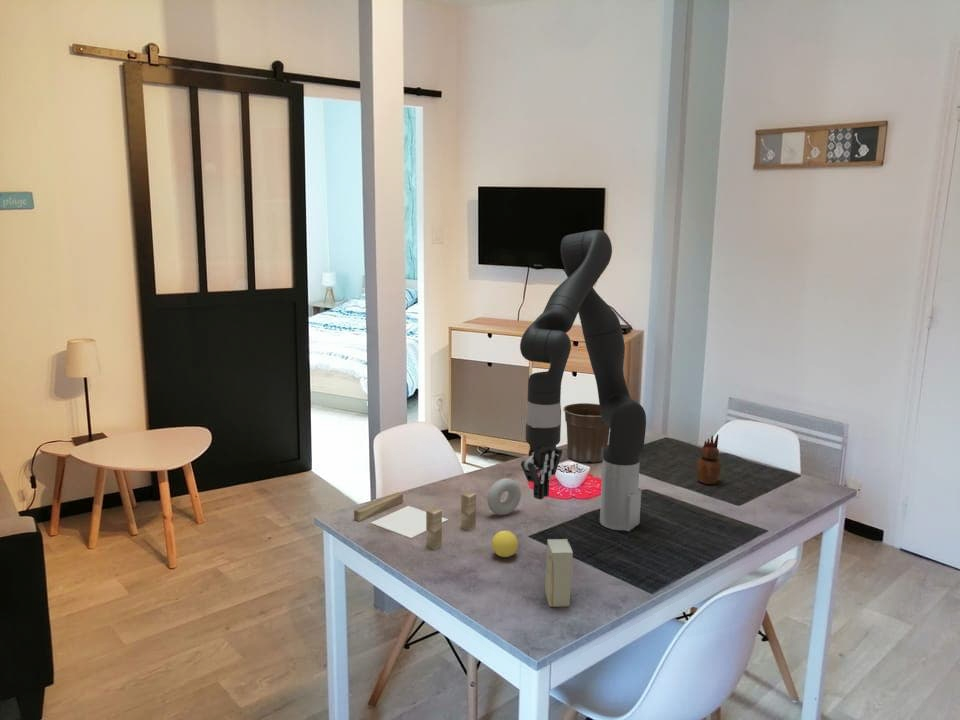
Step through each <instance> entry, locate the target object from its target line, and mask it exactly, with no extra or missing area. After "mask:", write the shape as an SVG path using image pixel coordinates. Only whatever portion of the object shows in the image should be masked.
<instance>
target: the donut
mask: <svg viewBox="0 0 960 720" xmlns="http://www.w3.org/2000/svg"><path fill="white" fill-rule="evenodd" d="M505 492H507V493H508V495H507V498H506V499H505V500H504V501H501V497H502V495H503V494H504V493H505ZM521 492H522V491H521V487H520V486H519V483H517V481H516V480H515V479H513V478H510V477H509V478H508V477H507V478H500V479H499V480H497V481H495V482H494V483H493V484H492V486H491V487H490V488H489V491H488V492H487V497H486V499H487V506H488V508H489V510H490V511H491V512H492V513H494V514H496V515H498V516H506V515H509V514H511V513H512V512H513V511H514V510H516V508H517V507H518V505H519V503H520V501H521V497H522V493H521Z"/></svg>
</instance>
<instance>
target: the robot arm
mask: <svg viewBox="0 0 960 720" xmlns="http://www.w3.org/2000/svg"><path fill="white" fill-rule="evenodd" d="M560 255H561V256H560V257H561V261H562V264H563V267H564V271H565V274H566V278H565V280H564V281H563V282H561V283H560V284H559V285H558V286H557V287H556V288H555V290H553V292H552V294H551V295H550V296H549V298H548V301H547V303H546V305H545V308H543V309H544V310H543V311H542V312H541V314H540V315H538V317H537V318H536V319H535V320H534V321H533V322H532V323H531V324H529V326H528V327H527V329H526V330H525V331H524V333H523V334H522V336H521V339H520V344H519V350H520V353H521V356H522V357H523V358H524V359H525V360H527V361H530V362H535V363H543V364H550V365H549V369H548V370H546V371H539V372H538V371H537V372H534V373H532V374H530V375H529V377H528V381H527V404H526V409H525V410H526V411H525V438H524V439H525V442H526V443H527V444H528V445H529V451H528V454H527V455H528V458H527V459H526V460H522V461H521V463H520V466H521V468H522V471H523V473H524V475H525V478H526V480H527V482H531V483H533V498H535V499H538V500H543V499H544V498H546V497H548V496H549V495H550V494H549V493H550V481H551V480H552V476H555V475H556V473H557V470H558V467H559V463H560V461H561V457H562V454H563V449H562V448H561V449H560V448H557V445H559V444H560V443H561V430H562V429H561V428H562V407H561V406H562V405H561V393H562V392H561V391H562V380H563V377H564V371H565V369H566V366H567V362H568V359H569V357H570V354H571V349H572V342H571V339H570V337H569V334H568V332H569V331H570V330H571V329H572V327H573V325H574V323H575V321H576V318H577V316H578V317H579V321H580V324H581V329H582V335H583V339H584V343H585V347H586V350H587V354H588V358H589V362H590V365H591V369H592V372H593V375H594V377H595V378H594V379H595V383H596V388H597V395H598V402H599V403H598V404H599V405H600V412H601V417H602V420H603V421H604V423H605V424H606V425H607V426H608V427H609V428H610V431H609V437H608V444H607V446H605V447H604V450H603V461H602V467H601V490H600V492H601V493H600V510H599V512H600V513H599V523H600V524H601V525H602V526H603V527H604V528H607V529H610V530H614V531H626V532H631V530H633V529H635V527H637V526H638V525H640V521H641V519H640V518H641V503H642V502H641V501H642V489H641V488H639V483H640V482H639V481H640V466H641V465H640V464H641V455H642V454H643V451H644V447H645V437H646V431H647V430H646V429H647V415H646V410H645V409H644V407H643V406H642V405H641V404H640V403H638V402H637V401H636V400H634V399H633V398H632V397H631V395H630V392H629V389H628V387H627V386H628V385H627V383H626V379H625V373H624V361H625V354H626V353H625V349H626V348H625V346H626V345H625V339H624V334H623V330H622V326H621V323H620V321H621V320H620V318H619V317H618V315H617V314H616V312H615V311H614V310H613V308H611V306H609V304H608V303H607V302H606V301H605V300H604V299H603V298H602V297H601V296H600V295H599V293H597V291H596V290H595V288H594V287H595V284H596V283H597V282H598V280H599V279H600V277H601V275H602V274H603V273H604V272H605V270H606V269H607V267H608V265H609V264H610V262H611V259H612V255H613V246H612V242H611V238H610V236H609V235H608V233H607V232H605V231H604V230H601V229H593V230H587V231H581V232H576V233H571V234H568V235H565V236H563V237H562V239H561V242H560Z"/></svg>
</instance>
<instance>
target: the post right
mask: <svg viewBox="0 0 960 720" xmlns="http://www.w3.org/2000/svg"><path fill="white" fill-rule="evenodd" d="M460 496H461V500H460V503H461V505H460V506H461V507H460V508H461V509H460V512H461V513H460V518H461V519H460V528H461V530H465V531H468V532H470V531H472V530H474V529H476V527H477V526H476V525H477V521H476V520H477V515H476V514H477V494H476V493H474V492H470V491H466V492H464V493H462V494H460Z"/></svg>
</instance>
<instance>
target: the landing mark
mask: <svg viewBox="0 0 960 720" xmlns="http://www.w3.org/2000/svg"><path fill="white" fill-rule="evenodd" d="M447 521H449V519H448V518H446V517H443V516H442V524H443V523H445V522H447ZM370 525H374V526H377V527H380V528H382V529H385V530H387V531H390V532H392V533H394V534H398V535H400V536H403V537H405V538H409V539H413V538H415V537H417V536H419V535H421V534H423V533H426V511H425V510H423V509H422V510H421V509H419V508H417V507H413V506H410V505H407V506H405V507H403V508H401V509H398V510H396V511H393V512H391V513H389V514H387V515H385V516H382V517H380V518H378V519H376V520H373V521H371V522H370Z"/></svg>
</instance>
